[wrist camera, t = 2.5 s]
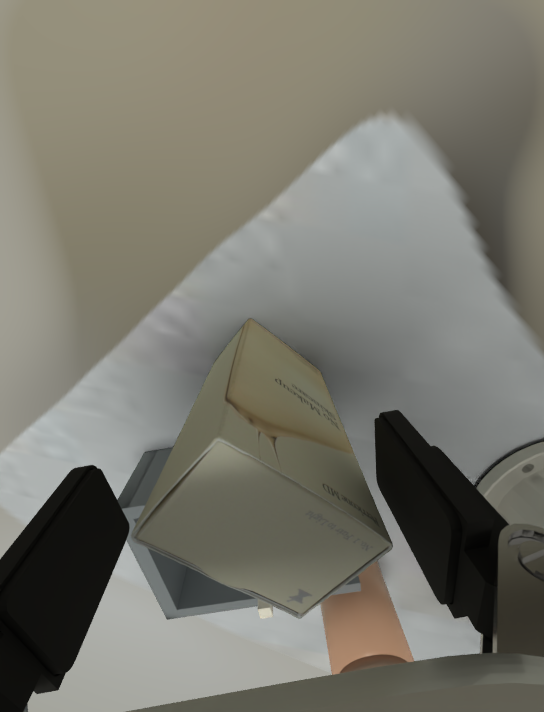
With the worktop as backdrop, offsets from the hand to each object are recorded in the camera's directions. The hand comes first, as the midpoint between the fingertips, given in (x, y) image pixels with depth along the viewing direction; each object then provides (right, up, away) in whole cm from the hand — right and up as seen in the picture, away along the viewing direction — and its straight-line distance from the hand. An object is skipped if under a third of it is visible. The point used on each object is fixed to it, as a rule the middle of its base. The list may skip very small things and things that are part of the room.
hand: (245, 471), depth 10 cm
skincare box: (0, +3, +10) cm, 10 cm away
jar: (+8, -16, +17) cm, 25 cm away
